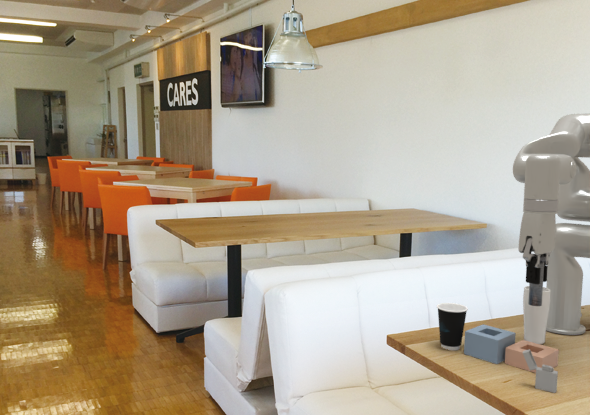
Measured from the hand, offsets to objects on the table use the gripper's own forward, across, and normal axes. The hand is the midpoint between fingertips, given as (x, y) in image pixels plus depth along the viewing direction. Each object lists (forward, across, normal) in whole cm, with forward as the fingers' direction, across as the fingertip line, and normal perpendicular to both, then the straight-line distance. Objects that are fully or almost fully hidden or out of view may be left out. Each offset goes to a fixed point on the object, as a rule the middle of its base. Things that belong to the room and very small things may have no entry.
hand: (536, 281), depth 131 cm
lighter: (+21, +12, +7) cm, 25 cm away
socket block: (+21, +2, -10) cm, 23 cm away
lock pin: (+6, 0, 0) cm, 6 cm away
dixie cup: (+21, +5, -20) cm, 29 cm away
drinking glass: (+21, -17, -7) cm, 28 cm away
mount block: (+21, 0, 0) cm, 21 cm away
